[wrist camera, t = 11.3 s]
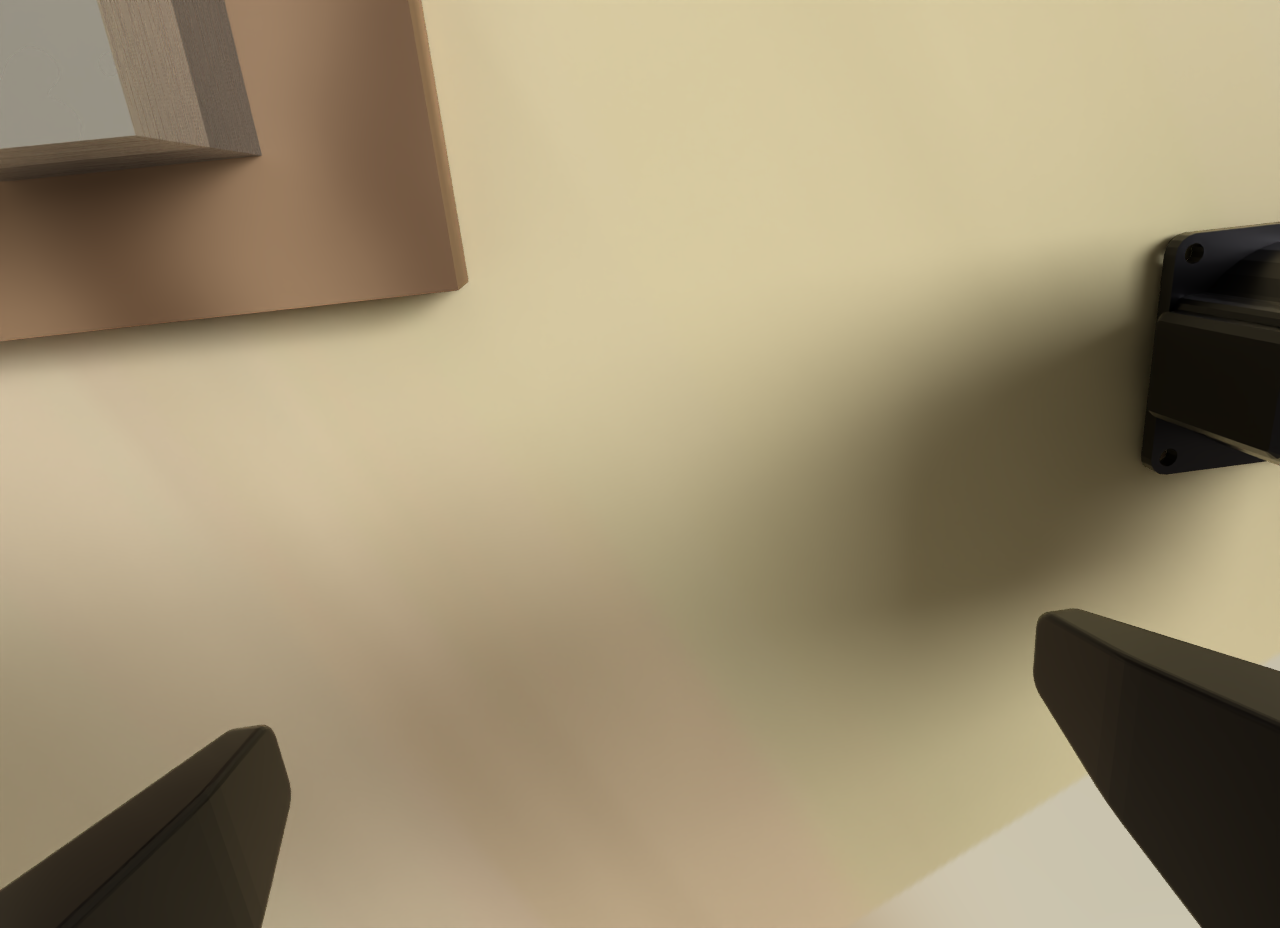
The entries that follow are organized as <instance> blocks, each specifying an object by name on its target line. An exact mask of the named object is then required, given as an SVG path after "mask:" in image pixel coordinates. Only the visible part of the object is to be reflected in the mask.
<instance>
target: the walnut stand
mask: <svg viewBox="0 0 1280 928" xmlns="http://www.w3.org/2000/svg"><path fill="white" fill-rule="evenodd" d="M224 1H225V5H226V9H227V13H228V17H229V21H230V25H231V30H232V34H233V38H234V42H235V46H236V50H237V54H238V58H239V63H240V67H241V71H242V75H243V79H244V83H245V87H246V92H247V96H248V100H249V104H250V108H251V112H252V116H253V120H254V125H255V129H256V133H257V137H258V141H259V145H260V149H261V154H262V155H261V156H251V157H242V158H232V159H222V160H212V161H202V162H193V163H183V164H173V165H163V166H153V167H144V168H134V169H124V170H114V171H104V172H95V173H85V174H75V175H65V176H55V177H46V178H36V179H26V180H16V181H0V341H8V340H17V339H26V338H35V337H44V336H53V335H62V334H71V333H80V332H88V331H97V330H106V329H115V328H124V327H133V326H142V325H151V324H160V323H169V322H178V321H187V320H196V319H205V318H214V317H223V316H232V315H240V314H249V313H258V312H267V311H276V310H285V309H294V308H303V307H312V306H321V305H330V304H339V303H348V302H357V301H366V300H375V299H384V298H392V297H401V296H410V295H419V294H428V293H437V292H446V291H455V290H459V289H460V288H461V287H463V286H464V285H465V284H466V283H467V282H468V276H467V270H466V264H465V258H464V252H463V246H462V240H461V234H460V228H459V222H458V216H457V210H456V204H455V198H454V192H453V186H452V180H451V175H450V169H449V163H448V157H447V151H446V145H445V139H444V133H443V127H442V121H441V115H440V109H439V103H438V97H437V91H436V85H435V79H434V74H433V68H432V62H431V56H430V50H429V44H428V38H427V32H426V26H425V20H424V14H423V8H422V2H421V0H224Z"/></svg>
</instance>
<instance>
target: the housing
mask: <svg viewBox="0 0 1280 928" xmlns="http://www.w3.org/2000/svg"><path fill="white" fill-rule="evenodd" d="M261 155H262V154H261V149H260V145H259V141H258V137H257V133H256V129H255V125H254V120H253V116H252V112H251V108H250V104H249V100H248V96H247V92H246V87H245V83H244V79H243V75H242V71H241V67H240V63H239V58H238V54H237V50H236V46H235V42H234V38H233V34H232V30H231V25H230V21H229V17H228V13H227V9H226V5H225V1H224V0H0V181H16V180H26V179H36V178H46V177H55V176H65V175H75V174H85V173H95V172H104V171H114V170H124V169H134V168H144V167H153V166H163V165H173V164H183V163H193V162H202V161H212V160H222V159H232V158H242V157H251V156H261Z"/></svg>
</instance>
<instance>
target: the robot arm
mask: <svg viewBox="0 0 1280 928" xmlns="http://www.w3.org/2000/svg"><path fill="white" fill-rule="evenodd" d="M1190 245H1191V247H1192V253H1191V256H1190V257H1189V259H1188V260H1187V261H1186V260H1185V252H1186V250H1187V248H1188V247H1189V246H1190ZM1165 450H1167V453H1166V455H1165V457H1164V458H1163V459H1162V460H1161V461H1160V456H1161V454H1162V453H1163V452H1164V451H1165ZM1141 459H1142V463H1143V465H1144V466H1145V467H1146V468H1148V469H1150V470H1152V471H1154V472H1157V473H1159V474H1173V473H1181V472H1189V471H1196V470H1204V469H1211V468H1219V467H1226V466H1234V465H1241V464H1249V463H1256V462H1264V461H1269V462H1271V463H1274V464H1277V465H1280V222H1274V223H1265V224H1256V225H1247V226H1238V227H1230V228H1221V229H1212V230H1203V231H1194V232H1186V233H1182V234H1179V235H1177V236H1176V237H1174V238H1173V239H1172V240H1171V241H1170V242H1169V244H1168V245H1167V247H1166V250H1165V254H1164V261H1163V270H1162V278H1161V287H1160V296H1159V304H1158V313H1157V322H1156V330H1155V339H1154V348H1153V357H1152V365H1151V374H1150V383H1149V391H1148V400H1147V409H1146V418H1145V426H1144V435H1143V444H1142V452H1141ZM1033 676H1034V682H1035V685H1036V688H1037V690H1038V693H1039V694H1040V696H1041V698H1042V699H1043V701H1044V703H1045V704H1046V706H1047V708H1048V709H1049V711H1050V712H1051V714H1052V716H1053V717H1054V719H1055V721H1056V722H1057V724H1058V725H1059V727H1060V729H1061V730H1062V732H1063V733H1064V735H1065V737H1066V738H1067V740H1068V742H1069V743H1070V745H1071V746H1072V748H1073V750H1074V751H1075V753H1076V755H1077V756H1078V758H1079V759H1080V761H1081V763H1082V764H1083V766H1084V767H1085V769H1086V771H1087V772H1088V774H1089V776H1090V777H1091V779H1092V780H1093V782H1094V784H1095V785H1096V787H1097V788H1098V790H1099V791H1100V793H1101V794H1102V796H1103V797H1104V799H1105V800H1106V802H1107V803H1108V805H1109V806H1110V807H1111V809H1112V810H1113V812H1114V813H1115V814H1116V816H1117V817H1118V818H1119V820H1120V821H1121V823H1122V824H1123V825H1124V827H1125V828H1126V829H1127V831H1128V832H1129V833H1130V835H1131V836H1132V837H1133V839H1134V840H1135V841H1136V842H1137V844H1138V845H1139V846H1140V848H1141V849H1142V850H1143V852H1144V853H1145V854H1146V855H1147V857H1148V858H1149V859H1150V861H1151V862H1152V864H1153V865H1154V866H1155V867H1156V868H1157V870H1158V871H1159V873H1160V874H1161V875H1162V877H1163V878H1164V879H1165V881H1166V882H1167V883H1168V885H1169V886H1170V887H1171V888H1172V890H1173V891H1174V892H1175V894H1176V895H1177V896H1178V898H1179V899H1180V900H1181V902H1182V903H1183V904H1184V906H1185V907H1186V908H1187V909H1188V911H1189V912H1190V913H1191V915H1192V916H1193V917H1194V919H1195V920H1196V921H1197V922H1198V924H1199V925H1200V927H1201V928H1280V671H1277V670H1274V669H1271V668H1268V667H1264V666H1261V665H1258V664H1255V663H1252V662H1248V661H1245V660H1242V659H1239V658H1235V657H1232V656H1229V655H1226V654H1222V653H1219V652H1216V651H1213V650H1210V649H1206V648H1203V647H1200V646H1197V645H1193V644H1190V643H1187V642H1184V641H1181V640H1177V639H1174V638H1171V637H1168V636H1164V635H1161V634H1158V633H1155V632H1151V631H1148V630H1145V629H1142V628H1139V627H1135V626H1132V625H1129V624H1126V623H1122V622H1119V621H1116V620H1113V619H1110V618H1106V617H1103V616H1100V615H1097V614H1093V613H1090V612H1087V611H1084V610H1080V609H1065V610H1058V611H1051V612H1046V613H1044V614H1042V615H1041V616H1040V617H1039V619H1038V621H1037V626H1036V639H1035V652H1034V666H1033ZM290 801H291V788H290V782H289V779H288V775H287V772H286V769H285V765H284V762H283V759H282V756H281V752H280V749H279V746H278V742H277V739H276V736H275V734H274V732H273V730H272V729H271V728H270V727H268V726H266V725H257V726H250V727H243V728H236V729H232V730H229V731H227V732H226V733H224V734H223V735H221V736H220V737H219V738H217V739H216V740H214V741H213V742H211V743H210V744H209V745H207V746H206V747H204V748H203V749H201V750H200V751H199V752H197V753H196V754H194V755H193V756H191V757H190V758H189V759H187V760H186V761H184V762H183V763H181V764H180V765H179V766H177V767H176V768H174V769H173V770H171V771H170V772H169V773H167V774H166V775H164V776H163V777H161V778H160V779H159V780H157V781H156V782H154V783H153V784H151V785H150V786H149V787H147V788H146V789H144V790H143V791H141V792H140V793H139V794H137V795H136V796H134V797H133V798H131V799H130V800H129V801H127V802H126V803H124V804H123V805H121V806H120V807H119V808H117V809H116V810H114V811H113V812H111V813H110V814H109V815H107V816H106V817H104V818H103V819H101V820H100V821H99V822H97V823H96V824H94V825H93V826H91V827H90V828H89V829H87V830H86V831H84V832H83V833H81V834H80V835H79V836H77V837H76V838H74V839H73V840H71V841H70V842H69V843H67V844H66V845H64V846H63V847H61V848H60V849H59V850H57V851H56V852H54V853H53V854H51V855H50V856H49V857H47V858H46V859H44V860H43V861H41V862H40V863H39V864H37V865H36V866H34V867H33V868H31V869H30V870H29V871H27V872H26V873H24V874H23V875H21V876H20V877H19V878H17V879H16V880H14V881H13V882H11V883H10V884H9V885H7V886H6V887H4V888H3V889H1V890H0V928H261V927H262V923H263V919H264V915H265V911H266V907H267V902H268V898H269V894H270V889H271V885H272V881H273V877H274V872H275V868H276V864H277V859H278V855H279V851H280V846H281V842H282V838H283V834H284V829H285V825H286V821H287V816H288V812H289V808H290Z"/></svg>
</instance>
